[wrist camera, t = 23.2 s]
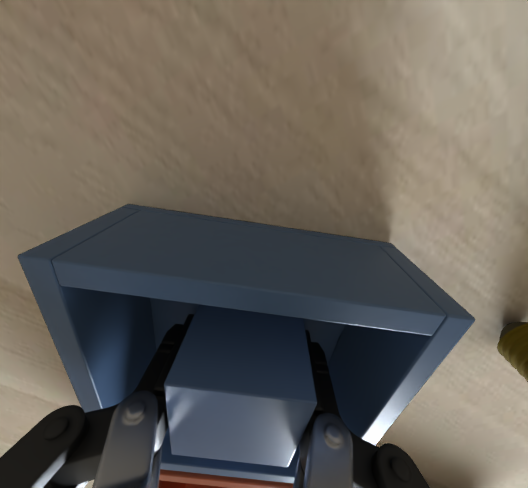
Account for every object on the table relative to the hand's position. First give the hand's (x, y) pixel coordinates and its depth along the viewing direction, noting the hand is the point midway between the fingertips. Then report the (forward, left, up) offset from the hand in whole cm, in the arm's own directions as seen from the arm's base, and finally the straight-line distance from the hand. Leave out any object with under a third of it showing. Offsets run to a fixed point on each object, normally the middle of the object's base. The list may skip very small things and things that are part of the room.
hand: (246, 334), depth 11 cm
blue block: (0, 0, -1) cm, 1 cm away
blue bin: (0, 0, -1) cm, 1 cm away
